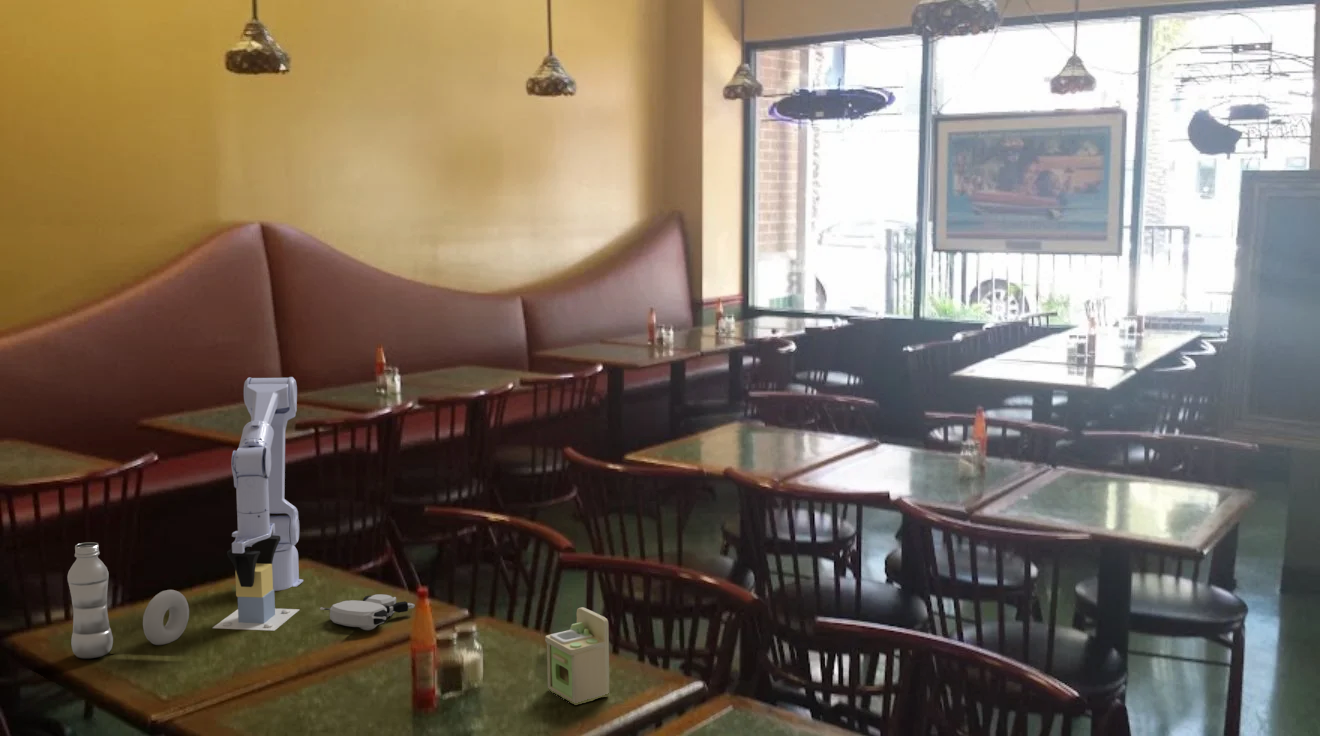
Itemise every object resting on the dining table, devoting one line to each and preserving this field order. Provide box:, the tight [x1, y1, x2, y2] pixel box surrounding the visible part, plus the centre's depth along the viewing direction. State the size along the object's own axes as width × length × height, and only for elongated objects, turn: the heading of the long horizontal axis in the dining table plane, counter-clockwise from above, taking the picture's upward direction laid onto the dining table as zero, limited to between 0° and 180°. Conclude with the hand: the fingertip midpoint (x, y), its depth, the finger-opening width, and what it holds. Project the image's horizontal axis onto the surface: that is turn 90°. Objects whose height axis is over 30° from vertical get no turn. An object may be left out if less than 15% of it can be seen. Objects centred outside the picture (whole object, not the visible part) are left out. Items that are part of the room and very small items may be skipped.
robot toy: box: [319, 593, 416, 631], centre depth 227 cm, size 12×4×15 cm
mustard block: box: [234, 563, 273, 598], centre depth 225 cm, size 5×5×5 cm
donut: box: [142, 589, 190, 646], centre depth 213 cm, size 10×4×10 cm, turn 161°
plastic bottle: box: [67, 542, 114, 659], centre depth 207 cm, size 6×7×20 cm
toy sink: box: [544, 606, 610, 703], centre depth 192 cm, size 8×7×13 cm
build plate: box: [212, 607, 300, 632], centre depth 226 cm, size 12×12×1 cm
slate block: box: [237, 589, 276, 623], centre depth 225 cm, size 5×5×5 cm
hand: (255, 580), depth 225 cm, fingers open, 7 cm apart
